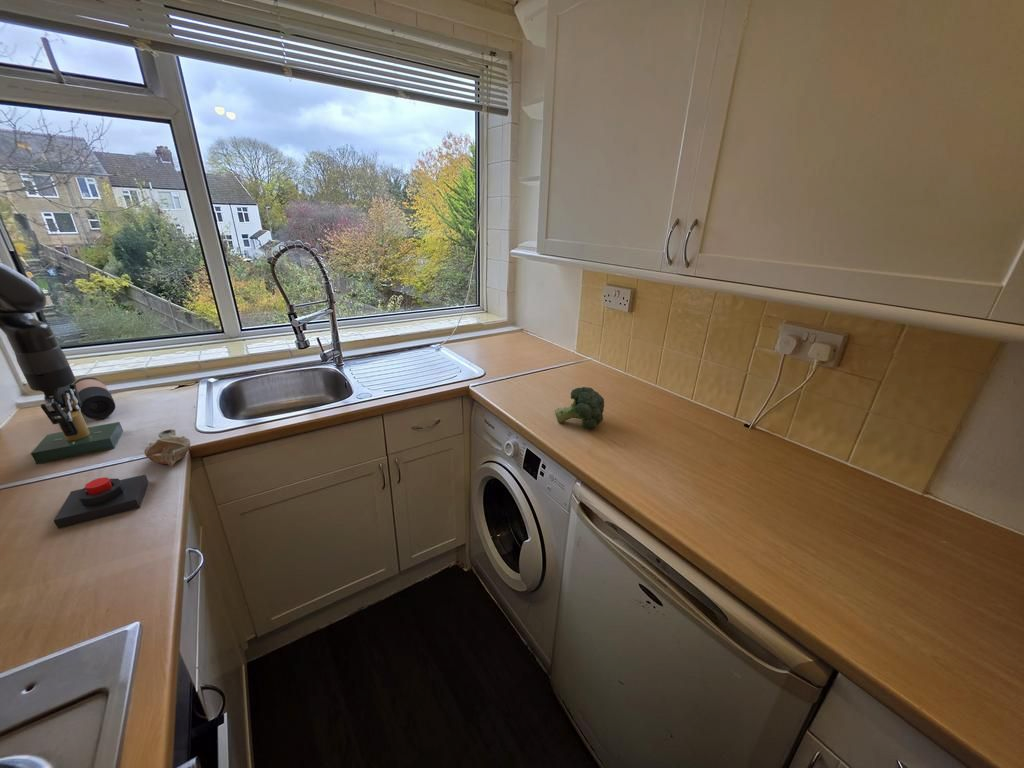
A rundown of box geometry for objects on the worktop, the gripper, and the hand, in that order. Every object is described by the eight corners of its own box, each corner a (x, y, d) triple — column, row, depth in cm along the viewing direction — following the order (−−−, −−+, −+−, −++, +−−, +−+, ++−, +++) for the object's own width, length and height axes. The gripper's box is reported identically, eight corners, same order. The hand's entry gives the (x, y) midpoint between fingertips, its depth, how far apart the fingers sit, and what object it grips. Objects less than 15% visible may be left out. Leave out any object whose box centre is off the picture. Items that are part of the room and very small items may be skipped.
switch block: (58, 529, 77) (48, 512, 75) (75, 499, 85) (67, 484, 83) (139, 508, 83) (133, 492, 81) (148, 482, 91) (142, 467, 89)
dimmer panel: (36, 464, 96) (30, 452, 95) (51, 444, 104) (46, 434, 103) (114, 448, 103) (109, 437, 102) (123, 431, 111) (119, 421, 110)
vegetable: (557, 402, 127) (603, 386, 122) (567, 441, 122) (615, 426, 118) (544, 392, 117) (593, 375, 112) (554, 435, 112) (606, 418, 107)
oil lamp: (148, 484, 90) (132, 446, 86) (149, 444, 105) (136, 410, 101) (196, 470, 95) (183, 433, 91) (190, 434, 110) (179, 401, 106)
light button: (85, 497, 80) (82, 490, 79) (91, 487, 83) (87, 480, 82) (110, 491, 82) (106, 484, 81) (114, 482, 85) (111, 475, 84)
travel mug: (80, 422, 114) (72, 402, 125) (118, 417, 119) (107, 398, 131) (76, 396, 112) (68, 378, 124) (115, 392, 117) (104, 375, 129)
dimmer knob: (88, 437, 102) (77, 415, 99) (63, 442, 100) (52, 419, 97) (92, 430, 105) (82, 408, 103) (68, 434, 103) (57, 412, 100)
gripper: (35, 360, 99) (65, 422, 106) (8, 380, 88) (43, 447, 94) (77, 355, 102) (103, 415, 109) (56, 373, 91) (87, 439, 98)
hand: (75, 430), depth 102 cm, fingers closed on dimmer knob, 4 cm apart
